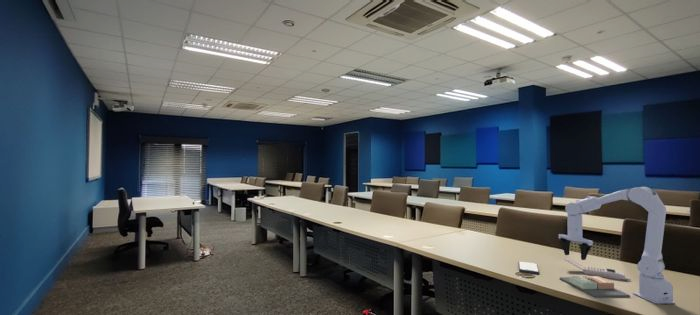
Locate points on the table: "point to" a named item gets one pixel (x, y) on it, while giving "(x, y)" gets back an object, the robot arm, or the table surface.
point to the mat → (599, 291)
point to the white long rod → (599, 271)
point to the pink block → (601, 282)
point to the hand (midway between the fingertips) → (575, 257)
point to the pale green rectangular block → (582, 282)
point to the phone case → (528, 267)
